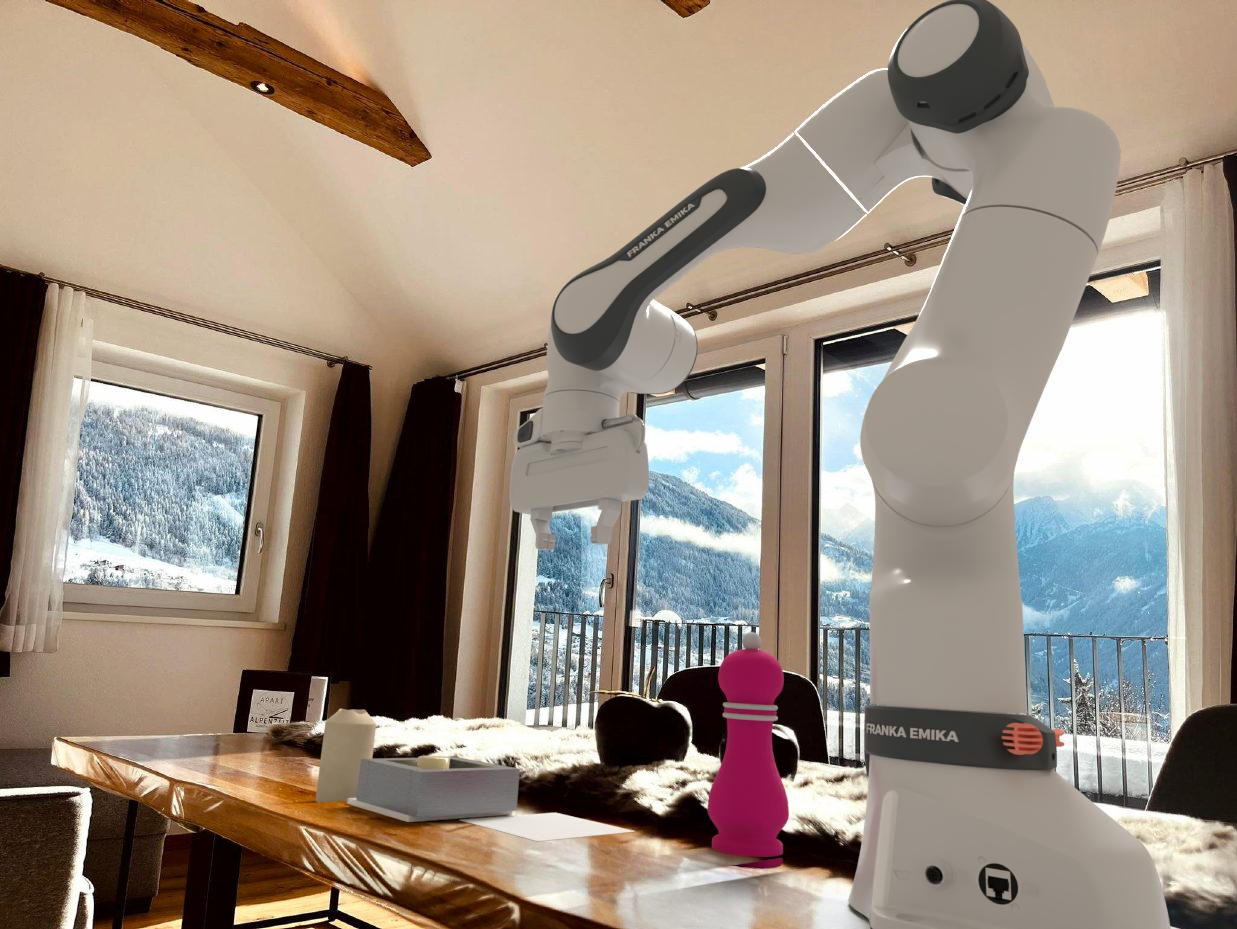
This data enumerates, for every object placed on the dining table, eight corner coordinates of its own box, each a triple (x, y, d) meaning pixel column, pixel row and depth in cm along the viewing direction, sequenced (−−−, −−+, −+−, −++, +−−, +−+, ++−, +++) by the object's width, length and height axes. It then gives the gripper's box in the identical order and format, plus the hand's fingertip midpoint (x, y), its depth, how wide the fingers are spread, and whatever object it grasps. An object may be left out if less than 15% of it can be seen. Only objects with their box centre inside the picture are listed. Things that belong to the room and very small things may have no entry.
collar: (516, 810, 90) (519, 768, 91) (416, 817, 82) (421, 772, 83) (452, 794, 98) (456, 757, 99) (356, 800, 91) (361, 758, 91)
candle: (347, 808, 95) (359, 711, 97) (304, 803, 97) (316, 707, 99) (376, 802, 100) (387, 710, 102) (335, 797, 102) (346, 707, 104)
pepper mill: (693, 861, 77) (701, 628, 82) (723, 849, 84) (729, 633, 88) (773, 874, 74) (777, 630, 79) (798, 861, 80) (800, 635, 85)
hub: (510, 824, 91) (515, 762, 92) (407, 832, 83) (414, 765, 84) (445, 807, 99) (451, 750, 101) (346, 813, 91) (353, 752, 93)
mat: (635, 842, 85) (636, 831, 85) (536, 853, 77) (537, 841, 77) (554, 822, 93) (555, 812, 93) (458, 830, 85) (459, 819, 85)
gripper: (665, 417, 96) (659, 544, 93) (545, 445, 111) (537, 556, 108) (623, 403, 92) (616, 535, 89) (504, 434, 107) (494, 548, 104)
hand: (571, 546), depth 98 cm, fingers open, 8 cm apart
